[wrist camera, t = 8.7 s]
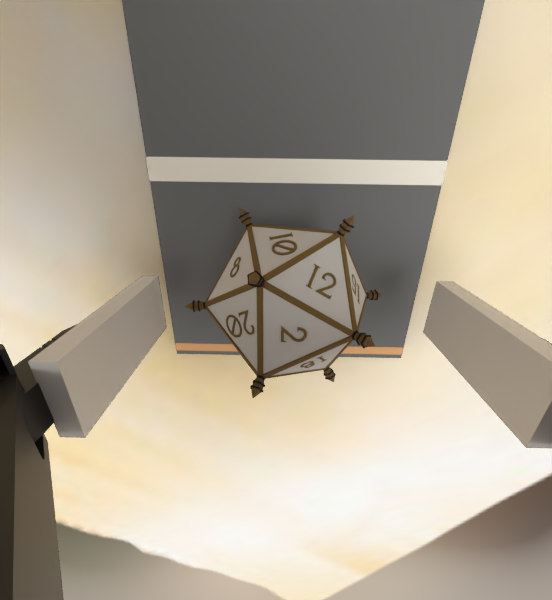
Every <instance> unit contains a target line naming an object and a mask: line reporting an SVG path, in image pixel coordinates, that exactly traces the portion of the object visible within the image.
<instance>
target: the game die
mask: <svg viewBox="0 0 552 600" xmlns="http://www.w3.org/2000/svg"><path fill="white" fill-rule="evenodd" d="M239 219H241V221H242V222H241V223H243V224H244V225H245V226H246V229H245V231H244V233H243V234H242V236H241V238H240V240H239V242H238V243H237V245H236V247H235V249H234V251H233V252H232V254H231V256H230V258H229V260H228V261H227V263H226V265H225V267H224V269H223V271H222V272H221V274H220V276H219V278H218V280H217V281H216V283H215V285H214V287H213V289H212V290H211V292H210V294H209V296H208V298H207V300H206V301H205V302H201V301H200V300H198V301H195V300H193V302H192V303H190V304H188V305H186V306H185V307H187V308H189V309H191V310H193V311H194V312H195V311H199V312H200V310H202V309H206V310H207V312H208V313H209V314H210V315H211V317H212V318H213V319H214V321H215V322H216V323H217V325H218V326H219V327H220V328H221V330H222V331H223V332H224V334H225V335H226V336H227V338H228V339H229V340H230V341H231V343H232V344H233V345H234V347H235V348H236V349H237V351H238V352H239V353H240V354H241V356H242V357H243V358H244V360H245V361H246V362H247V364H248V365H249V366H250V367H251V369H252V370H253V371H254V373H255V374H256V375H257V378H256V379H255V380H253V385H251V389H252V396H253V398H254V397H255V396H257V395H258V394H259V393H261V392H263V390H262V389H263V387H265V385H264V380H265V378H271V377H278V376H285V375H291V374H298V373H305V372H311V371H318V370H324V375H325V376H326V378H325V379H329V380H331V381H333V382H334V377H335V373H334V372H333V370H332V369H331V368H329V366H330V365H331V364H332V363H333V362H334V361H335V360H336V359H337V358H338V357H339V355H340V354H341V353H342V352H343V351H344V350H345V349H346V348H347V347H348V346H349V345H350V343H351V342H352V341H353V340H355V341H356V342H357V344H358V345H361V346H362V347H363V348H365V347H372V346H375V345H374V343H373V341H372V339H371V335H366V333H359V332H358V331H359V327H360V323H361V319H362V315H363V312H364V308H365V304H366V300H367V299H369V300H378V298H379V297H380V296H381V295H382V294H380V293H379V292H377V291H376V289H375V290H374V291H372V290H370V291H369V292H366V290H365V288H364V285H363V283H362V280H361V278H360V275H359V273H358V270H357V268H356V265H355V263H354V260H353V258H352V255H351V253H350V250H349V248H348V245H347V243H346V241H345V238H344V235H345V234H346V233H348V232H349V233H350V230H351V229H352V228H354V226H353V225H354V215H353V216H351V217H349V218H347V219H344V220H343V223H342V224H340V225H339V226H340V228H339V230H338V231H331V230H319V229H307V228H294V227H282V226H270V225H258V224H252V222H251V217H250V216H249V212H246V211H244V210H242V209H241V208H239Z"/></svg>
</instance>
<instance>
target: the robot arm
mask: <svg viewBox="0 0 552 600" xmlns="http://www.w3.org/2000/svg"><path fill="white" fill-rule="evenodd" d="M166 327H167V326H166V320H165V314H164V308H163V302H162V296H161V290H160V284H159V279H158V276H141V277H140V278H139V279H137V280H136V281H135V282H133V283H132V284H131V285H129V286H128V287H127V288H125V289H124V290H123V291H121V292H120V293H119V294H117V295H116V296H115V297H113V298H112V299H111V300H109V301H108V302H107V303H105V304H104V305H103V306H101V307H100V308H99V309H97V310H96V311H95V312H93V313H92V314H91V315H89V316H88V317H87V318H85V319H84V320H83V321H81V322H80V323H79V324H77V325H74V326H72V327H70V328H68V329H66V330H63V331H62V332H61V333H59V334H58V335H56V336H55V337H54V338H52V341H48V342H47V343H45V344H44V345H43V346H42V348H39V349H37V350H36V351H34V352H33V353H32V354H30V355H29V356H28V357H26V358H25V359H23V360H22V361H21V362H19V363H18V364H17V365H15V366H14V367H13V365H12V363H11V360H10V358H9V356H8V354H7V352H6V349H5V347H4V346H3V345H2V344H0V600H63V590H62V580H61V571H60V560H59V550H58V541H57V530H56V520H55V510H54V500H53V490H52V480H51V471H50V461H49V451H48V442H47V440H46V437H45V435H44V433H45V431H46V430H47V429H48V428H49V427H50V426H51V425H52V424H53V423H54V424H55V427H56V429H57V431H58V434H59V436H60V437H80V438H85V437H86V436H87V435H88V433H89V432H90V430H91V429H92V428H93V426H94V425H95V424H96V422H97V421H98V420H99V418H100V417H101V416H102V414H103V413H104V411H105V410H106V409H107V407H108V406H109V405H110V403H111V402H112V401H113V399H114V398H115V397H116V395H117V394H118V392H119V391H120V390H121V388H122V387H123V386H124V384H125V383H126V382H127V380H128V379H129V378H130V376H131V375H132V373H133V372H134V371H135V369H136V368H137V367H138V365H139V364H140V363H141V361H142V360H143V358H144V357H145V356H146V354H147V353H148V352H149V350H150V349H151V348H152V346H153V345H154V344H155V342H156V341H157V339H158V338H159V337H160V335H161V334H162V333H163V331H164V330H165V329H166ZM423 332H424V334H425V335H426V336H427V337H428V338H429V339H430V340H431V341H432V342H433V344H434V345H435V346H436V347H437V348H438V349H439V350H440V351H441V353H442V354H443V355H444V356H445V357H446V358H447V359H448V360H449V362H450V363H451V364H452V365H453V366H454V367H455V368H456V369H457V371H458V372H459V373H460V374H461V375H462V376H463V377H464V378H465V380H466V381H467V382H468V383H469V384H470V385H471V386H472V387H473V389H474V390H475V391H476V392H477V393H478V394H479V395H480V396H481V398H482V399H483V400H484V401H485V402H486V403H487V404H488V405H489V407H490V408H491V409H492V410H493V411H494V412H495V413H496V414H497V416H498V417H499V418H500V419H501V420H502V421H503V422H504V423H505V425H506V426H507V427H508V428H509V429H510V430H511V431H512V432H513V433H514V435H515V436H516V437H517V438H518V439H519V440H520V441H521V442H522V444H523V445H524V446H525V447H526V448H552V344H551V343H550V342H548V341H546V340H545V339H543V338H541V337H539V336H538V335H536V334H535V333H533V332H531V331H530V330H528V329H527V328H525V327H524V326H522V325H520V324H519V323H517V322H516V321H514V320H513V319H511V318H509V317H508V316H506V315H505V314H503V313H502V312H500V311H498V310H497V309H495V308H494V307H492V306H491V305H489V304H487V303H486V302H484V301H483V300H481V299H480V298H478V297H476V296H475V295H473V294H472V293H470V292H469V291H467V290H465V289H464V288H462V287H461V286H459V285H458V284H456V283H454V282H449V281H437V282H436V285H435V289H434V293H433V297H432V300H431V304H430V308H429V312H428V316H427V319H426V323H425V327H424V331H423Z"/></svg>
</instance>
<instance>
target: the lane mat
mask: <svg viewBox="0 0 552 600" xmlns="http://www.w3.org/2000/svg"><path fill="white" fill-rule="evenodd" d="M484 1H485V0H122V3H123V10H124V16H125V22H126V29H127V35H128V42H129V48H130V55H131V61H132V67H133V74H134V80H135V87H136V93H137V100H138V106H139V112H140V119H141V125H142V132H143V138H144V145H145V151H146V162H147V169H148V175H149V181H150V183H151V190H152V196H153V202H154V209H155V215H156V222H157V228H158V235H159V241H160V247H161V254H162V260H163V267H164V273H165V279H166V286H167V292H168V299H169V305H170V312H171V318H172V324H173V331H174V337H175V345H176V350H177V354H227V355H241V354H240V353H239V352H238V351H237V349H236V348H235V347H234V345H233V344H232V343H231V341H230V340H229V339H228V338H227V336H226V335H225V334H224V332H223V331H222V330H221V328H220V327H219V326H218V325H217V323H216V322H215V321H214V319H213V318H212V317H211V315H210V314H209V313H208V312H207V310H206V309H202V310H200V312H199V311H195V312H194V311H193V310H191V309H189V308H187V307H185V306H186V305H188V304H190V303H192V302H193V300H195V301H198V300H200V301H201V302H205V301H206V300H207V298H208V296H209V294H210V292H211V290H212V289H213V287H214V285H215V283H216V281H217V280H218V278H219V276H220V274H221V272H222V271H223V269H224V267H225V265H226V263H227V261H228V260H229V258H230V256H231V254H232V252H233V251H234V249H235V247H236V245H237V243H238V242H239V240H240V238H241V236H242V234H243V233H244V231H245V229H246V226H245V225H244V224H243V223H241V222H242V221H241V219H239V208H241V209H242V210H244V211H246V212H249V216H250V217H251V222H252V224H258V225H270V226H282V227H294V228H307V229H319V230H331V231H338V230H339V228H340V226H339V225H340V224H342V223H343V220H344V219H347V218H349V217H351V216H353V215H354V225H353V226H354V228H352V229H351V230H350V233H349V232H348V233H346V234H345V235H344V238H345V241H346V243H347V245H348V248H349V250H350V253H351V255H352V258H353V260H354V263H355V265H356V268H357V270H358V273H359V275H360V278H361V280H362V283H363V285H364V288H365V290H366V292H369V291H370V290H372V291H374V290H375V289H376V291H377V292H379V293H380V294H382V295H381V296H380V297H379V298H378V300H369V299H367V300H366V304H365V308H364V312H363V315H362V319H361V323H360V327H359V331H358V332H359V333H366V335H371V339H372V341H373V343H374V345H375V346H372V347H365V348H363V347H362V346H361V345H358V344H357V342H356V341H355V340H353V341H352V342H351V343H350V345H349V346H348V347H347V348H346V349H345V350H344V351H343V352H342V353H341V354H340V355H339V357H380V358H401V355H402V353H403V348H404V343H405V338H406V334H407V330H408V326H409V321H410V317H411V313H412V309H413V304H414V300H415V296H416V292H417V287H418V283H419V279H420V274H421V270H422V266H423V262H424V257H425V253H426V249H427V245H428V240H429V236H430V232H431V228H432V223H433V219H434V215H435V210H436V206H437V202H438V198H439V193H440V189H441V185H443V181H444V176H445V172H446V168H447V164H448V161H447V159H448V155H449V151H450V146H451V142H452V138H453V134H454V129H455V125H456V121H457V117H458V112H459V108H460V104H461V100H462V95H463V91H464V87H465V83H466V78H467V74H468V70H469V65H470V61H471V57H472V53H473V48H474V44H475V40H476V36H477V31H478V27H479V23H480V19H481V14H482V10H483V6H484Z"/></svg>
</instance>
